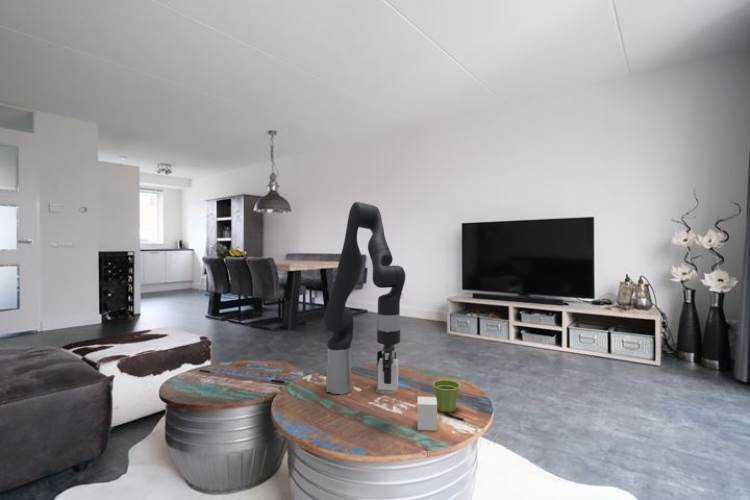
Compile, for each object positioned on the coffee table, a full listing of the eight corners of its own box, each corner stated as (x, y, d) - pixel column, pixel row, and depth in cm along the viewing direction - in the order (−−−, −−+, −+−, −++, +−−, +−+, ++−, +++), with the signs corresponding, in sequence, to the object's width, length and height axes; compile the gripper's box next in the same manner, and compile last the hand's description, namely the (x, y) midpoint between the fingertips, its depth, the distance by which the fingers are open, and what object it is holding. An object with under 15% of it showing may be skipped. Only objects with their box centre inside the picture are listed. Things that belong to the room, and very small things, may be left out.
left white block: (377, 389, 118) (378, 364, 118) (380, 382, 124) (380, 358, 124) (397, 390, 117) (397, 364, 117) (398, 383, 123) (398, 359, 123)
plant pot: (444, 417, 125) (444, 391, 125) (427, 406, 133) (427, 382, 133) (465, 411, 129) (465, 386, 129) (448, 401, 138) (448, 378, 138)
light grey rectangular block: (417, 429, 117) (417, 404, 117) (417, 420, 123) (417, 396, 122) (437, 430, 116) (437, 404, 116) (436, 421, 122) (436, 397, 122)
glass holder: (373, 393, 146) (373, 355, 146) (381, 380, 160) (381, 345, 160) (395, 395, 144) (395, 356, 144) (401, 382, 158) (401, 346, 158)
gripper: (379, 322, 128) (379, 371, 128) (374, 332, 114) (374, 387, 114) (401, 323, 127) (401, 372, 127) (399, 333, 113) (398, 388, 113)
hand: (388, 379), depth 120 cm, fingers closed on left white block, 6 cm apart
